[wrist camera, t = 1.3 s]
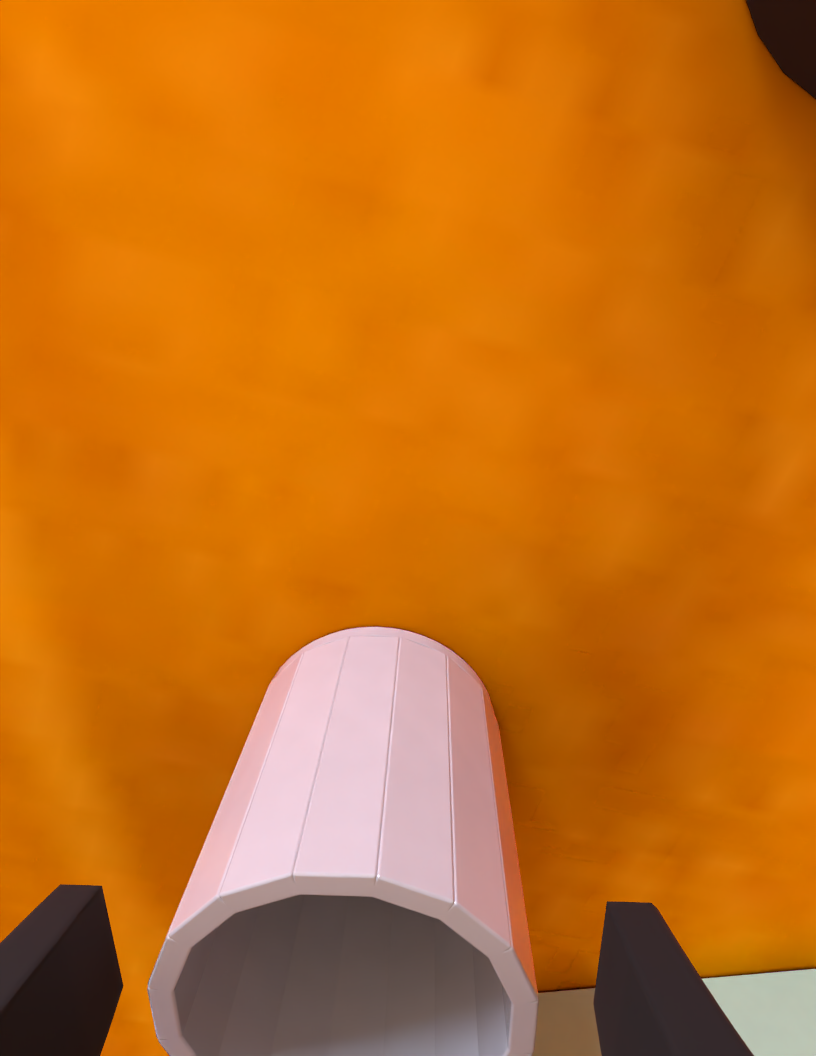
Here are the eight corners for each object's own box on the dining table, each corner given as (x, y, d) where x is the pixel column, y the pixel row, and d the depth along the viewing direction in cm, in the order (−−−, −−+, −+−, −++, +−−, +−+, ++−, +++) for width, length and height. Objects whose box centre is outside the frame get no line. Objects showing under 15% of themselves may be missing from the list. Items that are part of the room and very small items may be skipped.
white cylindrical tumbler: (270, 819, 15) (174, 1135, 10) (252, 623, 13) (122, 869, 8) (491, 825, 15) (526, 1150, 9) (501, 627, 13) (550, 880, 8)
